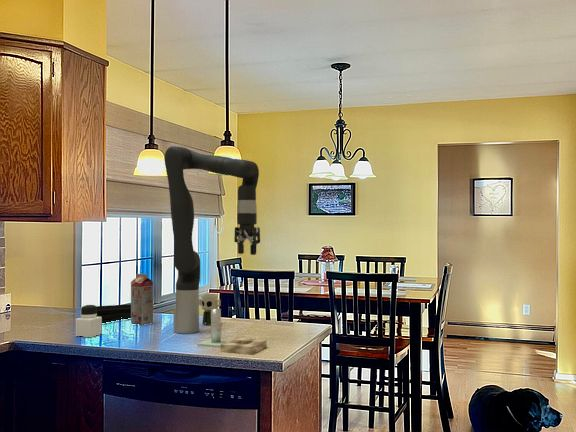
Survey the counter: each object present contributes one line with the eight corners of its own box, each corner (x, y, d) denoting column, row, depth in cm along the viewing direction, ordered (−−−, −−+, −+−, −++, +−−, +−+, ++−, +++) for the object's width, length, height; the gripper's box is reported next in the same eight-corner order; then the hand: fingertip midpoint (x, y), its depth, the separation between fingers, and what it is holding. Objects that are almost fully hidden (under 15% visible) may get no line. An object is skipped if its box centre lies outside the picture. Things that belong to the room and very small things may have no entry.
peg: (209, 342, 211) (208, 309, 211) (214, 340, 215) (213, 308, 215) (217, 343, 210) (217, 310, 210) (222, 341, 213) (222, 308, 213)
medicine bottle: (102, 334, 230) (102, 304, 230) (90, 338, 223) (90, 307, 223) (87, 333, 232) (87, 303, 233) (75, 337, 226) (75, 306, 226)
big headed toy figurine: (194, 324, 251) (194, 294, 251) (203, 322, 257) (203, 293, 258) (216, 326, 247) (216, 296, 247) (224, 324, 253) (224, 294, 253)
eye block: (220, 351, 199) (220, 344, 199) (236, 344, 210) (236, 337, 210) (252, 354, 195) (252, 347, 195) (266, 347, 206) (266, 340, 206)
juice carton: (141, 326, 249) (141, 274, 249) (131, 324, 252) (130, 274, 252) (153, 323, 254) (153, 273, 254) (142, 322, 258) (142, 273, 258)
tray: (108, 326, 249) (108, 314, 249) (66, 323, 258) (66, 311, 258) (150, 316, 277) (150, 305, 277) (110, 313, 285) (110, 302, 285)
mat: (196, 345, 209) (196, 343, 209) (210, 339, 219) (210, 338, 219) (221, 347, 206) (221, 345, 206) (234, 341, 215) (234, 340, 215)
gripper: (228, 212, 227) (228, 253, 227) (249, 211, 216) (249, 255, 215) (244, 212, 231) (244, 253, 231) (265, 212, 220) (265, 254, 220)
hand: (247, 254), depth 223 cm, fingers open, 8 cm apart
